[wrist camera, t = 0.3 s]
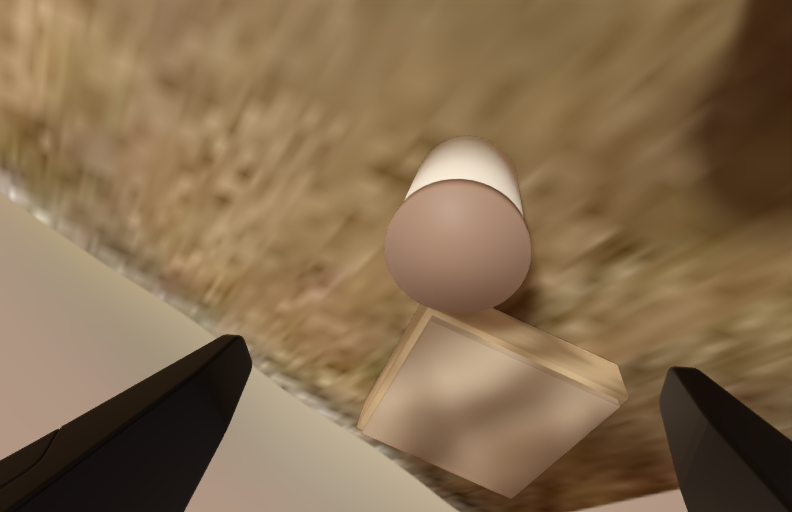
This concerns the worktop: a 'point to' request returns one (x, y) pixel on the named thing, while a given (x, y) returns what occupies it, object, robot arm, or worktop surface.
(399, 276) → the spice tin
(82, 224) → the worktop surface
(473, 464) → the block
